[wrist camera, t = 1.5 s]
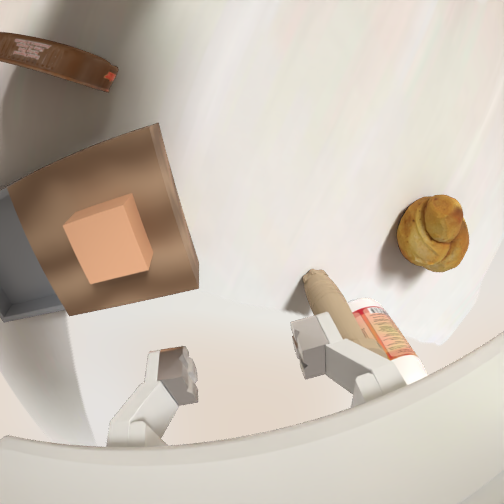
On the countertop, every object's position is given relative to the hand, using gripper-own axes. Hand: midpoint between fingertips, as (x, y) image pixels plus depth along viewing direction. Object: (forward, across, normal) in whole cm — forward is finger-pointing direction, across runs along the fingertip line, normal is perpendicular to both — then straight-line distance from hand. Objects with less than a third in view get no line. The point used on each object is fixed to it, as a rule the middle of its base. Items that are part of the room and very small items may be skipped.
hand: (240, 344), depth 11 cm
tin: (+21, +12, -18) cm, 30 cm away
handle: (+21, -9, +14) cm, 27 cm away
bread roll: (+22, -26, +11) cm, 36 cm away
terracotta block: (+16, +10, 0) cm, 19 cm away
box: (+21, +27, 0) cm, 35 cm away
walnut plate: (+21, +12, 0) cm, 24 cm away
